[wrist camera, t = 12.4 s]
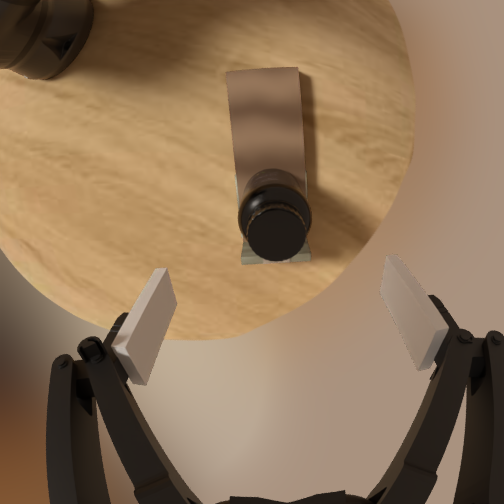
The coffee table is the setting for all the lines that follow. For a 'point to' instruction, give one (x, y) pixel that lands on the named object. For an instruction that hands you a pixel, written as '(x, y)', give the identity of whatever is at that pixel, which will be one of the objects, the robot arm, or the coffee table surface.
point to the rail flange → (266, 133)
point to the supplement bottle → (274, 215)
